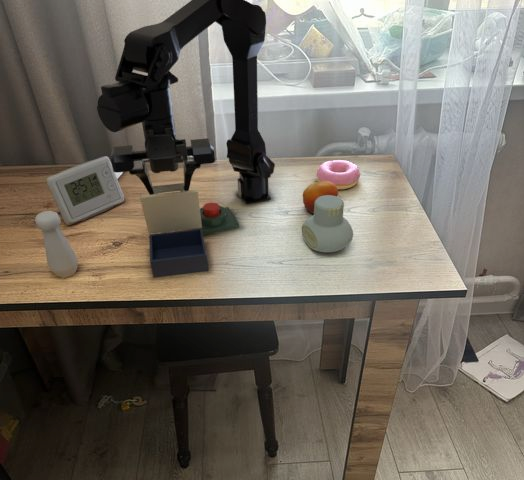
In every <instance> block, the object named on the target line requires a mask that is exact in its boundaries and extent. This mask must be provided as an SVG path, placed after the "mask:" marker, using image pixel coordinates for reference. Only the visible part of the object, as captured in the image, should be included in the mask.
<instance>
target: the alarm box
mask: <svg viewBox="0 0 524 480" xmlns="http://www.w3.org/2000/svg"><path fill="white" fill-rule="evenodd" d="M219 207H220V214H219V215H218V216H215V217H207V216H205V215H204V210H203V206H202V207H200V214H201V224H202V228H197V229H202V231H203V236H207V235H212V234H216V233H222V232H226V231H231V230H235V229H239V228H240V222H239V221H238V219H237V217H236V216H235V215H234V213H233V212H232V210H231V209H230V207H229V206H227V207H224V206H222V205H219ZM191 230H193V229H191Z"/></svg>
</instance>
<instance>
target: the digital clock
mask: <svg viewBox="0 0 524 480" xmlns="http://www.w3.org/2000/svg"><path fill="white" fill-rule="evenodd" d="M118 179H119V178H118ZM118 179H117V177H116V174H115V172H113V167H112V163H111V158H109V156H106V155H105V156H101V157H98V158H96V159H90V160H88V161H85V162H83V163H80V164H76V165H73V166H71V167H69V168H67V169H64V170H61V171H60V172H58V173H56V174H53V175H50V176H48V177H47V178H46V180H45V181H46V184H47V188H48V190H49V191H50V193H51V195H52V198H53V201H54V202H55V204H56V207H57V208H58V211H59V213H60V216H61V217H62V220H63V221H64V223H65V224H66V225H67V226H72V225H74V224H76V223H79V222H84V221H86V220H88V219H91V218H93V217H96V216H98V215H100V214H102V213H104V212H107V211H109V210H112V209H113V208H114V207H115V206H118V205H119V204H120V205H121V204H122V203H123V202H124V201H125V195H124V193H123V190H122V187H121V185H120V183H119V182H120V181H119V180H118Z"/></svg>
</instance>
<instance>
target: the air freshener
mask: <svg viewBox="0 0 524 480" xmlns="http://www.w3.org/2000/svg"><path fill="white" fill-rule="evenodd" d="M344 206H345V201H344V200H343V199H342V198H341V197H339V196H338V197H337V196H333V195H325V196H321V197H319V198H317V199H316V200H315V203H314V213H313V215H311V216H309V217H308V218H306V220H305V221H304V222H303V224H302V226H301V235H302V237H303V240H304V242H305V244H307V246H308V247H309V248H310V249H311V250H314V251H316V252H320V253H335V252H339V251H341V250H343V249H345V248H346V247H348V246H349V244H350V243H351V242H352V240H353V238H354V230H353V228H352V225H351V223H350V221H348V219H346V217H344V208H345V207H344Z"/></svg>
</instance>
